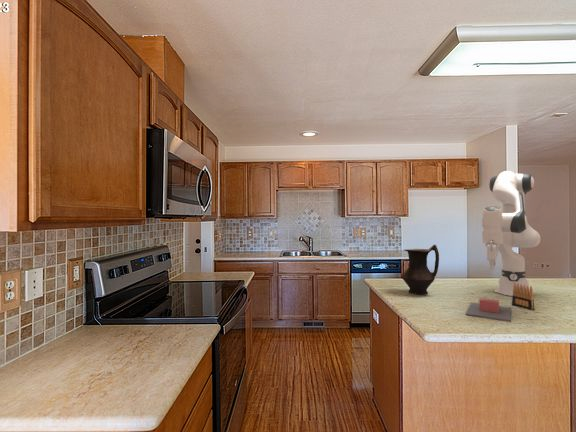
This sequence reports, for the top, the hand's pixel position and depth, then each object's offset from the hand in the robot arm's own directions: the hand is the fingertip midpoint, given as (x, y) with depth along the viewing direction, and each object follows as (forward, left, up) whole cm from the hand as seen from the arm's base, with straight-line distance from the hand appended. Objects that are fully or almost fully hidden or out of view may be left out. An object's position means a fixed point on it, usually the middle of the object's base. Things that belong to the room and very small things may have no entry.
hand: (492, 267), depth 170 cm
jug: (-18, -38, -22) cm, 48 cm away
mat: (+3, -1, -22) cm, 22 cm away
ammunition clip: (-16, +13, -22) cm, 30 cm away
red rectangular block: (+3, -1, -21) cm, 21 cm away
